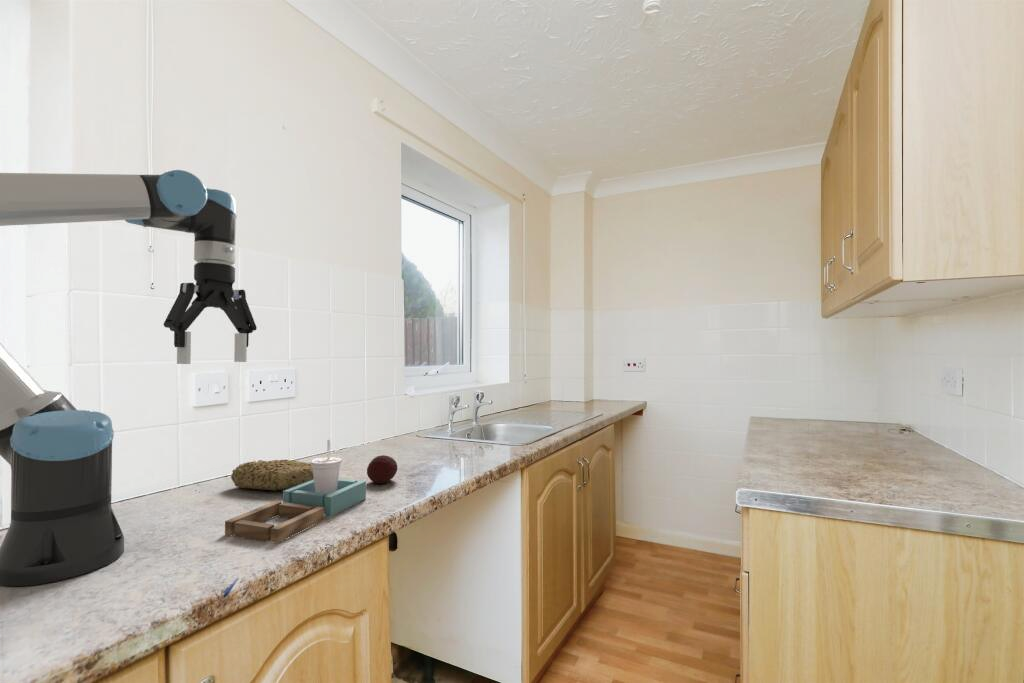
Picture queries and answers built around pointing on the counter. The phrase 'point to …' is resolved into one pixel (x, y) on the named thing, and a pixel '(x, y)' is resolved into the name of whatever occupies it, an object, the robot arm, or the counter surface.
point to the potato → (382, 469)
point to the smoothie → (326, 472)
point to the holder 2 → (332, 503)
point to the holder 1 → (254, 529)
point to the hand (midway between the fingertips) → (213, 363)
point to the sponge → (272, 474)
